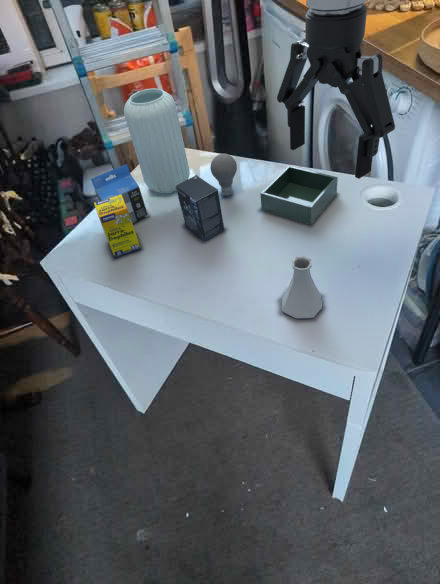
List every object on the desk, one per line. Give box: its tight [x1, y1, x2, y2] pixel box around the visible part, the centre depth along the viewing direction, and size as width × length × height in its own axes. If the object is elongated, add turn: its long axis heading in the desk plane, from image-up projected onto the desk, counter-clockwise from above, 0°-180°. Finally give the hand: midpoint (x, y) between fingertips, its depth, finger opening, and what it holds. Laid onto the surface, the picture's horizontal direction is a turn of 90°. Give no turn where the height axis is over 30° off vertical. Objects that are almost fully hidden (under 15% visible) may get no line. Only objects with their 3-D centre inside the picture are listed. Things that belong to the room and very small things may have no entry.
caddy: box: [259, 165, 339, 226], centre depth 95 cm, size 12×12×4 cm
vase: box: [123, 87, 191, 194], centre depth 101 cm, size 12×12×22 cm
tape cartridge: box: [90, 163, 149, 225], centre depth 96 cm, size 9×4×12 cm, turn 123°
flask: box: [281, 256, 323, 320], centre depth 73 cm, size 7×7×10 cm
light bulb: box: [210, 153, 238, 196], centre depth 100 cm, size 6×6×10 cm
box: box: [176, 174, 225, 242], centre depth 91 cm, size 8×6×11 cm
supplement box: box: [93, 194, 142, 259], centre depth 90 cm, size 6×6×11 cm
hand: (328, 159), depth 69 cm, fingers open, 13 cm apart
